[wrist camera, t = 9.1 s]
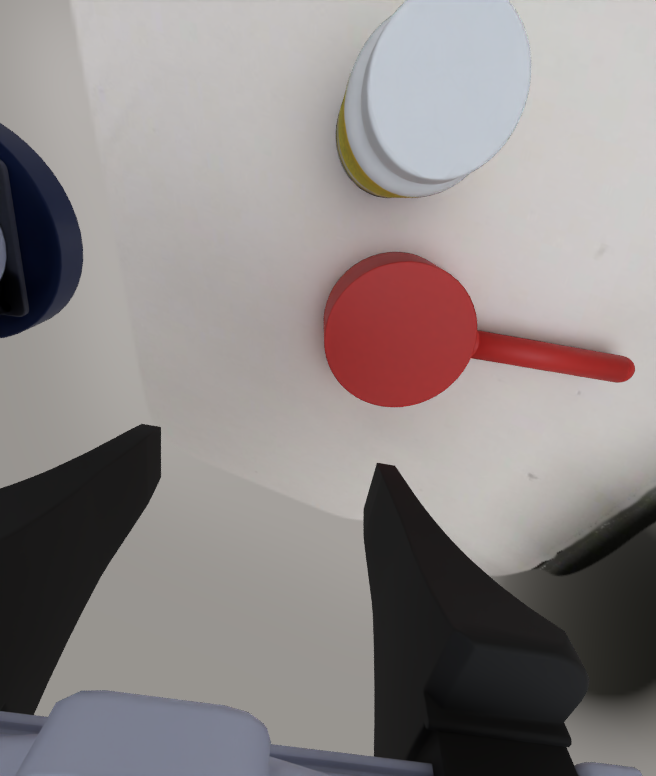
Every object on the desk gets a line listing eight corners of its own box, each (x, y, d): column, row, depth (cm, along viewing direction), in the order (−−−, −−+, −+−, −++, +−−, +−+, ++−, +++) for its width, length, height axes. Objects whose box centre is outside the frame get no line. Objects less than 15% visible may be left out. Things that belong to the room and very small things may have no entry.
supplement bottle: (396, 219, 18) (450, 236, 11) (313, 151, 17) (310, 117, 10) (468, 120, 17) (591, 59, 9) (383, 36, 15) (444, -115, 8)
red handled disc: (313, 371, 22) (312, 396, 19) (337, 239, 19) (340, 246, 16) (581, 414, 23) (616, 442, 21) (644, 298, 20) (693, 314, 18)
